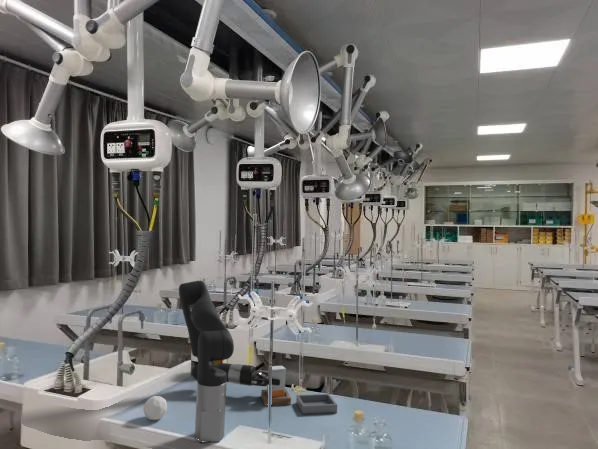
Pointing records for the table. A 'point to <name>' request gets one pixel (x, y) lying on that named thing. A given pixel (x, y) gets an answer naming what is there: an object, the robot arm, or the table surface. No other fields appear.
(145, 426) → the table surface
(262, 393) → the socket block
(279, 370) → the skincare box
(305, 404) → the tray
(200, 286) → the robot arm
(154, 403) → the geometric ball
